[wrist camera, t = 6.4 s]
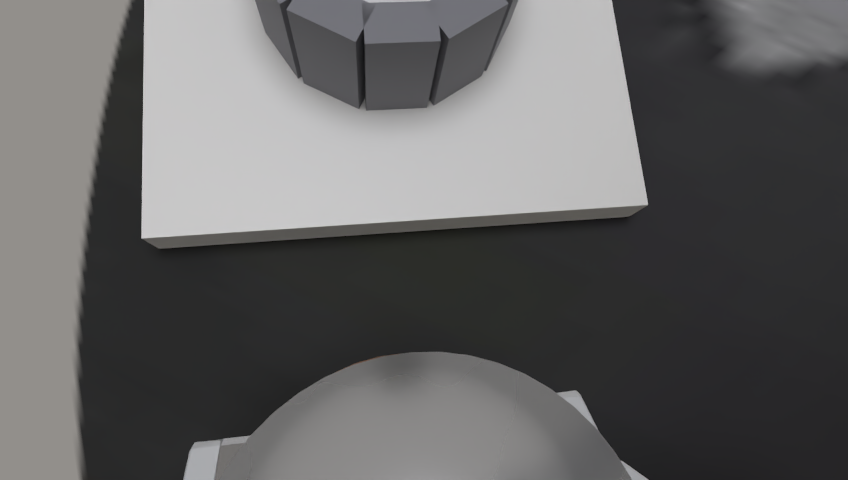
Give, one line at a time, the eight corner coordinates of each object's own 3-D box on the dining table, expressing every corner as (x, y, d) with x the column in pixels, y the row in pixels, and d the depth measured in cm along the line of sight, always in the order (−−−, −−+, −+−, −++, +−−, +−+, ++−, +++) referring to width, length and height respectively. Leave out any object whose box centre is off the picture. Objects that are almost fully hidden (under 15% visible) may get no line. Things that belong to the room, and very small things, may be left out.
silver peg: (368, 339, 19) (362, 259, 5) (475, 410, 19) (748, 512, 5) (294, 452, 18) (55, 702, 4) (405, 527, 18) (515, 1034, 4)
